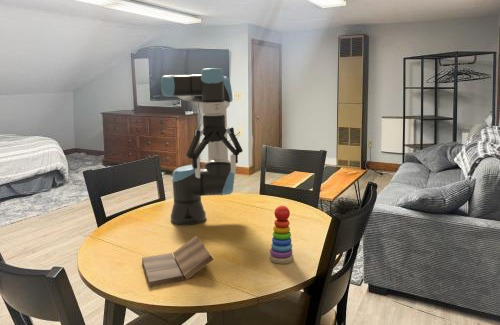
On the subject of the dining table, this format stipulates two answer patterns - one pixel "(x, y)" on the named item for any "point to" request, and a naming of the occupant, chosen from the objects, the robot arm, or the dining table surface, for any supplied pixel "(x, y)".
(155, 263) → the panel
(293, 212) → the dining table surface
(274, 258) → the stacking toy
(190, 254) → the plank
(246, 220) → the dining table surface
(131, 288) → the dining table surface
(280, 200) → the dining table surface
